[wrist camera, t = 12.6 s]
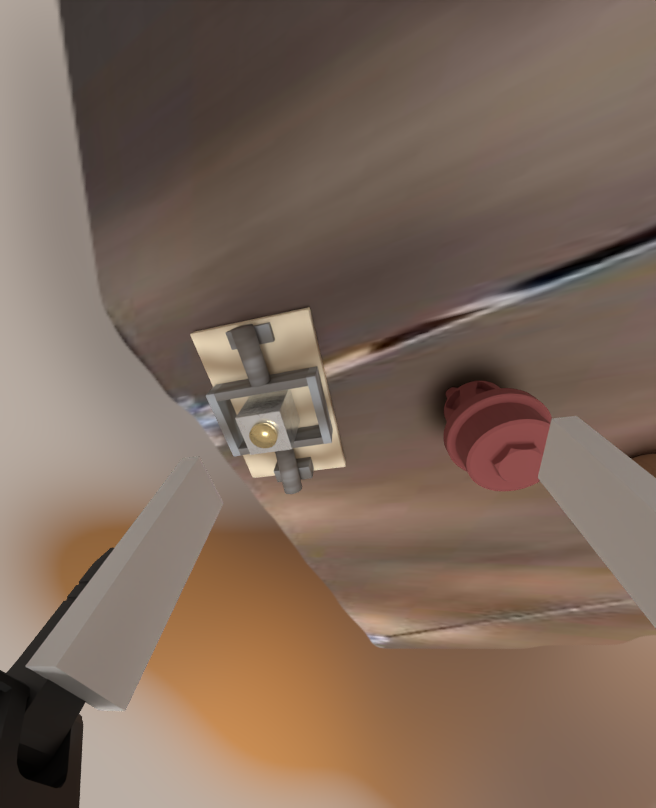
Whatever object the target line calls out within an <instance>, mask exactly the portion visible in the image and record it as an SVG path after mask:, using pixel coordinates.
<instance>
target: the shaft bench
mask: <svg viewBox="0 0 656 808" xmlns="http://www.w3.org/2000/svg"><path fill="white" fill-rule="evenodd" d="M190 335H191V338H192V340H193V342H194V344H195V347H196V349H197V351H198V354H199V356H200V358H201V360H202V363H203V365H204V367H205V370H206V372H207V374H208V376H209V379H210V381H211V383H212V385H213V388H212V389H211V390H210V391H209V392H208V393H207V394H206V397H207V400H208V402H209V404H210V406H211V408H212V410H213V413H214V415H215V417H216V419H217V421H218V423H219V426H220V428H221V430H222V432H223V434H224V437H225V439H226V441H227V443H228V445H229V447H230V450H231V452H232V454H233V456H240V455H243V456H244V458H245V461H246V463H247V465H248V467H249V470H250V472H251V474H252V477H253V478H257V477H265V476H273V475H275V476H276V479H277V481H278V482H282V483H283V487H284V491H285V493H286V494H294V493H297V492H299V491H300V490H301V489H302V484H301V479H308V478H312V477H313V471H314V470H321V469H329V468H337V467H345V463H346V461H345V457H344V452H343V448H342V444H341V439H340V435H339V431H338V427H337V422H336V418H335V414H334V409H333V405H332V401H331V397H330V392H329V388H328V384H327V379H326V375H325V371H324V366H323V362H322V358H321V354H320V349H319V345H318V341H317V336H316V332H315V328H314V324H313V319H312V315H311V311H310V307H308V308H303V309H298V310H294V311H289V312H284V313H280V314H275V315H270V316H266V317H261V318H256V319H252V320H247V321H242V322H238V323H233V324H228V325H223V326H219V327H214V328H209V329H205V330H200V331H195V332H193V333H191V334H190ZM288 389H290V390H291V393H292V396H293V400H294V403H295V406H296V410H297V413H298V416H299V419H300V423H299V426H298V430H297V433H296V437H295V441H294V444H293V448H292V449H290V450H283V451H275V452H268V453H261V454H254V455H250V452H249V450H248V448H247V445H246V443H245V441H244V438H243V436H242V433H241V431H240V429H239V426H238V424H237V422H236V419H235V418H236V416H237V415H238V413H239V412H240V410H241V409H242V407H243V406H244V404H245V403H246V401H247V400H248V398H249V396H252V395H258V394H264V393H270V392H276V391H282V390H288Z"/></svg>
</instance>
